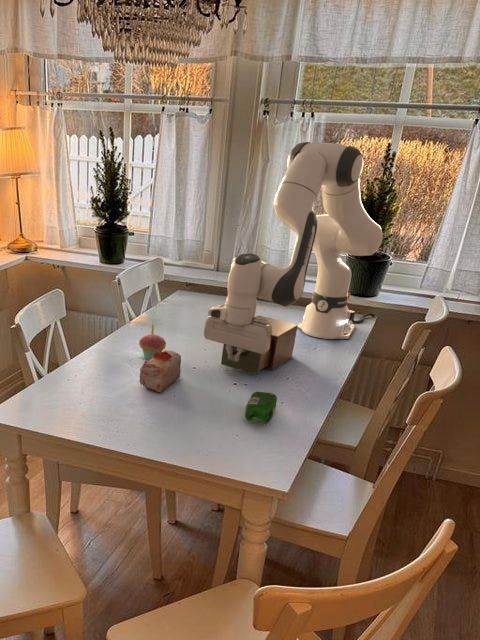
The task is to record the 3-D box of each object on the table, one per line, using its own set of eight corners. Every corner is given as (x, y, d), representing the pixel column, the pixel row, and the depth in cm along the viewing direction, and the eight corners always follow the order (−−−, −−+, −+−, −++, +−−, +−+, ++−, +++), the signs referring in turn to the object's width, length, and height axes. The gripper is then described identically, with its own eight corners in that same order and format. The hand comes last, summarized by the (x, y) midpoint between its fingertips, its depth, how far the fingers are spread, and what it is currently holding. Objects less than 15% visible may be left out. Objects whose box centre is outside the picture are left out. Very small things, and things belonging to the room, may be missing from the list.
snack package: (240, 426, 169) (243, 408, 166) (251, 402, 181) (254, 385, 178) (268, 432, 167) (271, 413, 164) (276, 407, 179) (280, 390, 176)
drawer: (251, 378, 193) (255, 350, 189) (214, 368, 200) (217, 339, 195) (277, 362, 206) (282, 335, 201) (241, 352, 212) (245, 325, 207)
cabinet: (271, 370, 202) (277, 336, 197) (232, 358, 209) (237, 326, 204) (291, 357, 213) (297, 324, 207) (253, 346, 219) (258, 315, 214)
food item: (161, 395, 183) (164, 362, 178) (136, 389, 186) (138, 356, 181) (182, 379, 193) (185, 347, 188) (158, 373, 196) (160, 342, 191)
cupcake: (162, 363, 203) (165, 326, 197) (135, 360, 205) (137, 323, 198) (166, 354, 211) (169, 317, 204) (140, 351, 212) (142, 314, 206)
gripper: (277, 319, 183) (270, 366, 191) (214, 304, 193) (209, 348, 201) (267, 325, 179) (260, 372, 186) (203, 309, 189) (198, 354, 196)
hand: (233, 360), depth 193 cm, fingers closed, pressing on drawer
